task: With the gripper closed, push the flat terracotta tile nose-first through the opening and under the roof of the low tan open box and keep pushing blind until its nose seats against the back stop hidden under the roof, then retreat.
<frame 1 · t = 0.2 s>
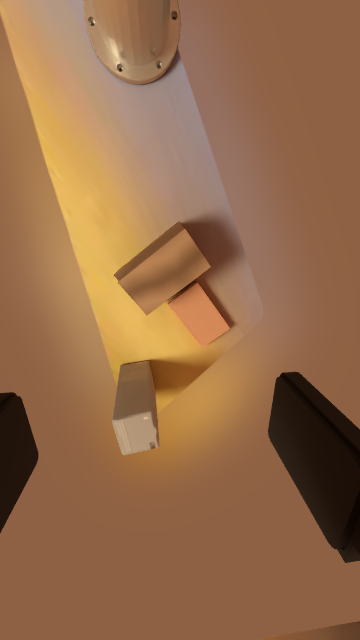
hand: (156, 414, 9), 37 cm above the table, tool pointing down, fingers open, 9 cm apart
tan open box: (166, 271, 43), on the table
terracotta tile: (198, 313, 47), on the table
skincare box: (140, 377, 51), on the table
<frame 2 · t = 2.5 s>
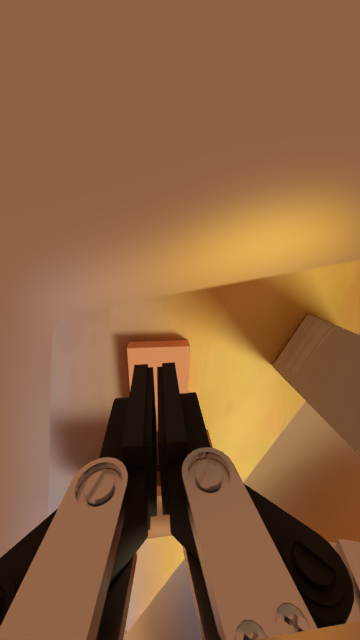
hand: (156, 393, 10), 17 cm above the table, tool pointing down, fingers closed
tan open box: (162, 448, 33), on the table
terracotta tile: (159, 381, 29), on the table
skincare box: (304, 345, 30), on the table
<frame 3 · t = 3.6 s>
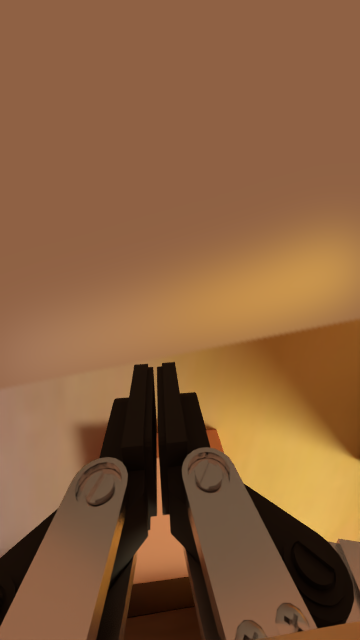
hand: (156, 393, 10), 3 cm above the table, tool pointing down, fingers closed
tan open box: (167, 585, 20), on the table
terracotta tile: (162, 491, 17), on the table
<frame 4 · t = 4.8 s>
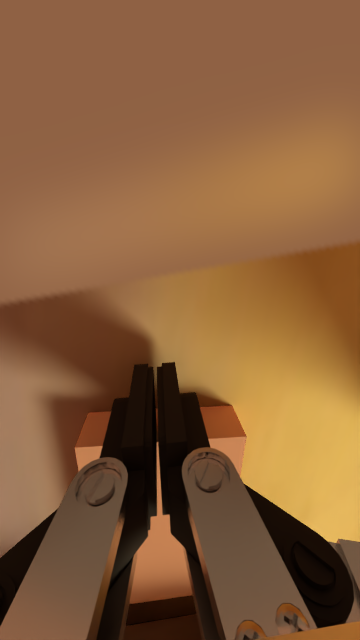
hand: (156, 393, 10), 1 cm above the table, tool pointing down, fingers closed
tan open box: (167, 588, 16), on the table
terracotta tile: (162, 488, 13), on the table
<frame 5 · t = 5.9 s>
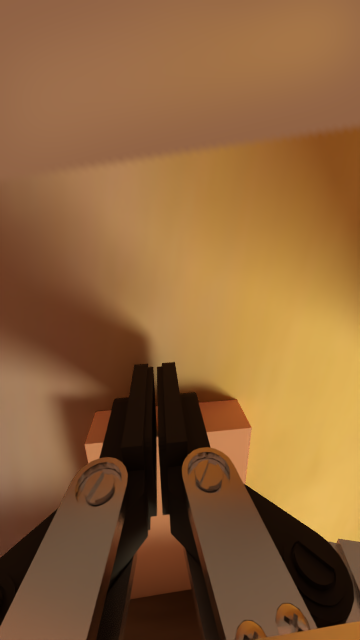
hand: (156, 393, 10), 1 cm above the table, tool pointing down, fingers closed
tan open box: (164, 552, 15), on the table
terracotta tile: (171, 483, 14), on the table, touching gripper
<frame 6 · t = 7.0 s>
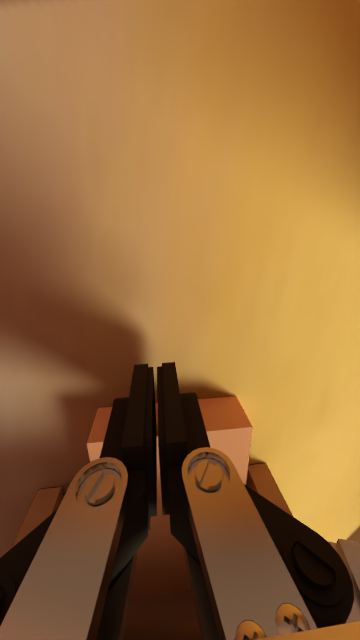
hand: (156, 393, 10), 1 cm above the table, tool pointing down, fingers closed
tan open box: (159, 506, 14), on the table
terracotta tile: (172, 483, 14), on the table, touching gripper
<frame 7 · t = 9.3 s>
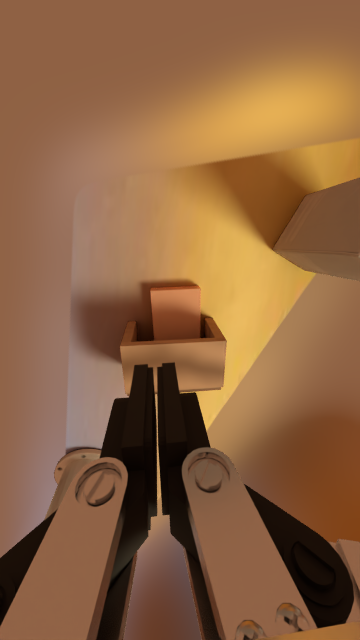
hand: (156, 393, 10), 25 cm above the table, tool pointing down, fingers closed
tan open box: (171, 334, 36), on the table
terracotta tile: (175, 323, 36), on the table
skincare box: (302, 231, 32), on the table
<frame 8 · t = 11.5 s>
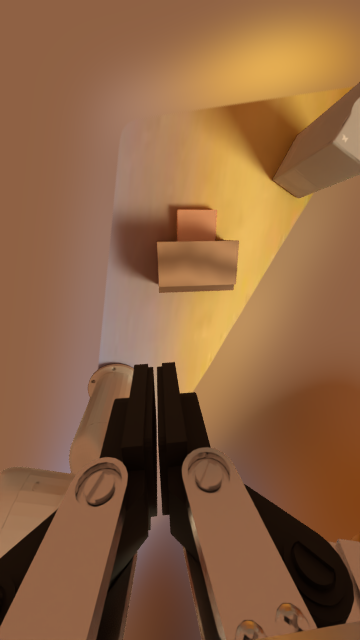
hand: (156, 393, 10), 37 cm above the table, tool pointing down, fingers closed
tan open box: (191, 254, 44), on the table
terracotta tile: (194, 245, 44), on the table
skincare box: (295, 166, 41), on the table
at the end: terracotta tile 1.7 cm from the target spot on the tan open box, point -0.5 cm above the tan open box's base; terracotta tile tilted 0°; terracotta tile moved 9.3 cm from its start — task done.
